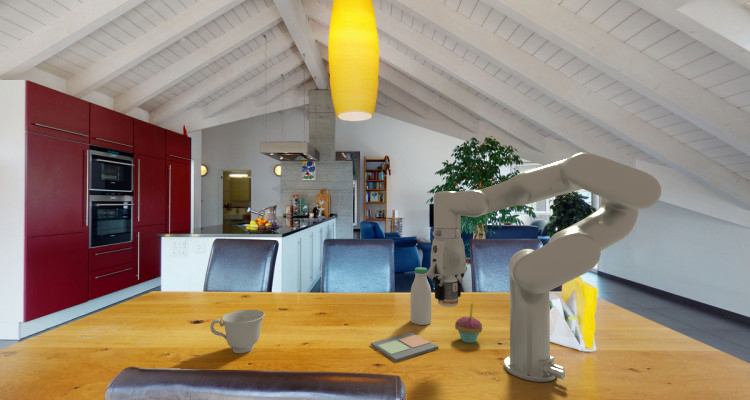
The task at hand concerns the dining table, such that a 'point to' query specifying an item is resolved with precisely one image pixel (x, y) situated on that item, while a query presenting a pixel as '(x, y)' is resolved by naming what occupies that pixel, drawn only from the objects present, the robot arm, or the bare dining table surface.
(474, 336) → the cupcake
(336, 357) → the dining table surface
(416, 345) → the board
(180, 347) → the dining table surface
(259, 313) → the teacup
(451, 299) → the pill bottle
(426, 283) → the milk bottle
